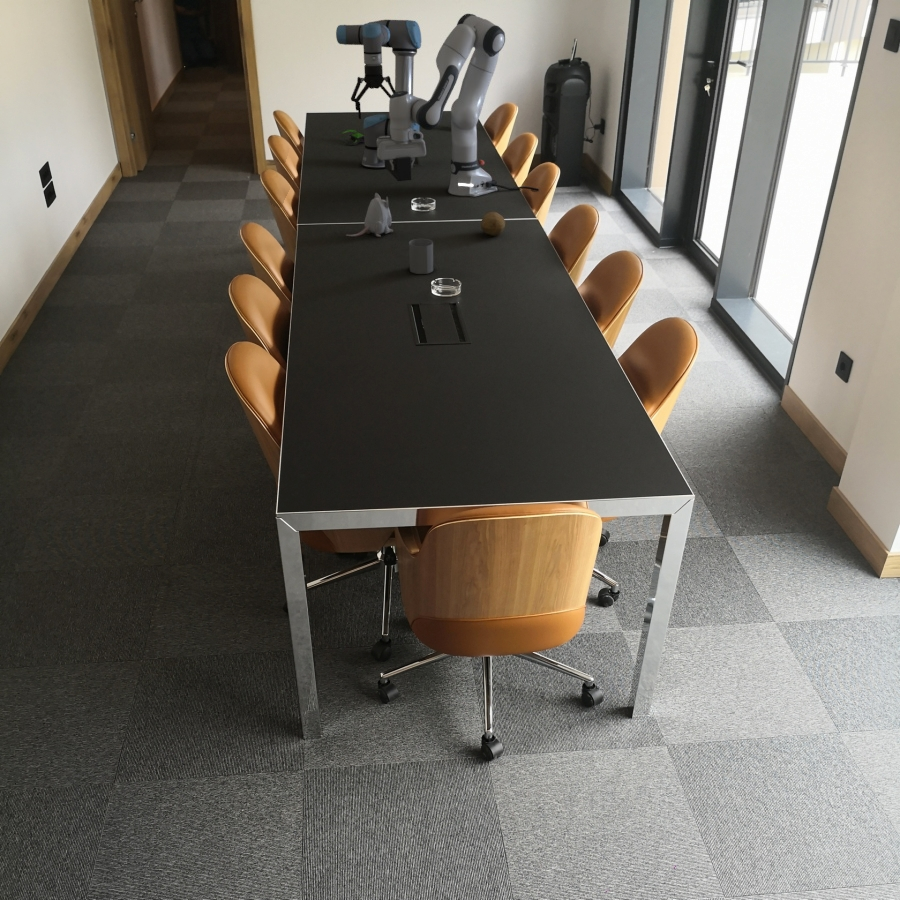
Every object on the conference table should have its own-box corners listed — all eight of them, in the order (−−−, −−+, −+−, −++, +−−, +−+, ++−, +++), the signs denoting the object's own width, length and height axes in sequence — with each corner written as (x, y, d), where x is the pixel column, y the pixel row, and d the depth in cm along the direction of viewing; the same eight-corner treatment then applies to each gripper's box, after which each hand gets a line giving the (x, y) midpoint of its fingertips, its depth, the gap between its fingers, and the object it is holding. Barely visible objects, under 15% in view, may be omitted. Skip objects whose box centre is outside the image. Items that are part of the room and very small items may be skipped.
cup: (409, 265, 311) (408, 238, 306) (432, 265, 312) (431, 238, 307) (410, 274, 304) (409, 246, 299) (433, 273, 305) (433, 246, 299)
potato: (502, 228, 347) (503, 208, 342) (507, 239, 335) (507, 219, 331) (478, 228, 346) (478, 208, 342) (481, 240, 334) (482, 219, 330)
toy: (398, 232, 342) (397, 194, 334) (353, 246, 328) (351, 207, 320) (383, 227, 348) (381, 189, 340) (338, 241, 333) (335, 202, 325)
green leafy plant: (396, 126, 467) (340, 124, 465) (396, 141, 460) (339, 139, 458) (396, 136, 472) (341, 134, 470) (396, 151, 465) (340, 149, 463)
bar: (384, 166, 378) (383, 145, 373) (397, 165, 380) (396, 144, 375) (397, 181, 359) (396, 158, 354) (411, 180, 360) (410, 157, 356)
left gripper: (344, 66, 357) (347, 120, 369) (404, 65, 361) (405, 118, 373) (342, 63, 364) (345, 116, 375) (401, 62, 368) (402, 114, 379)
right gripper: (377, 138, 348) (379, 173, 356) (426, 134, 353) (427, 168, 360) (374, 134, 353) (376, 169, 361) (422, 130, 358) (423, 165, 365)
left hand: (375, 117), depth 374 cm, fingers open, 13 cm apart
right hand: (402, 168), depth 361 cm, fingers closed on bar, 6 cm apart
